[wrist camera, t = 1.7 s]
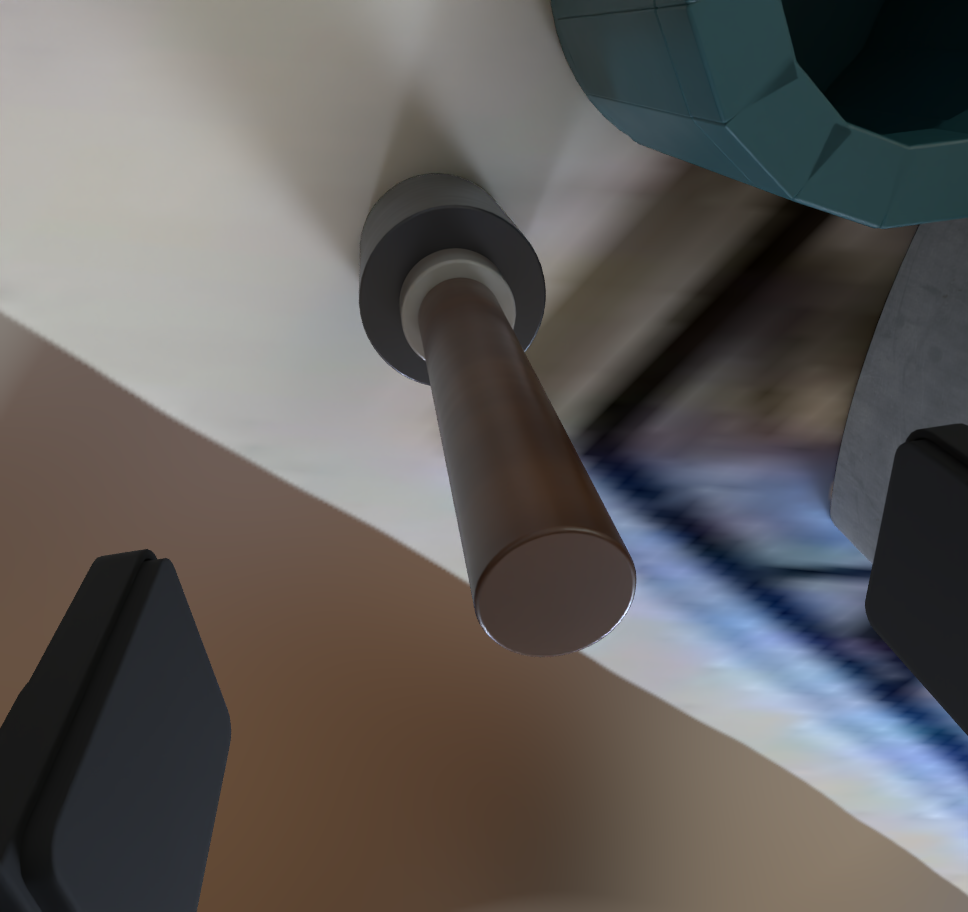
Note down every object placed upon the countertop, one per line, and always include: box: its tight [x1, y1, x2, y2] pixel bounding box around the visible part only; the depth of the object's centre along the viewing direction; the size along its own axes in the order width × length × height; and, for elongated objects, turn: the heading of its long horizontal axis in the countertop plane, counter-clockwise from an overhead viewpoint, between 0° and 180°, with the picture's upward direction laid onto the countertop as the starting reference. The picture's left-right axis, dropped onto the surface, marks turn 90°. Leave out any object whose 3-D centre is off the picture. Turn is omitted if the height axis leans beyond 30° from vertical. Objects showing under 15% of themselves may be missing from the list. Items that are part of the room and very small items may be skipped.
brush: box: [359, 173, 636, 657], centre depth 16 cm, size 5×5×17 cm
